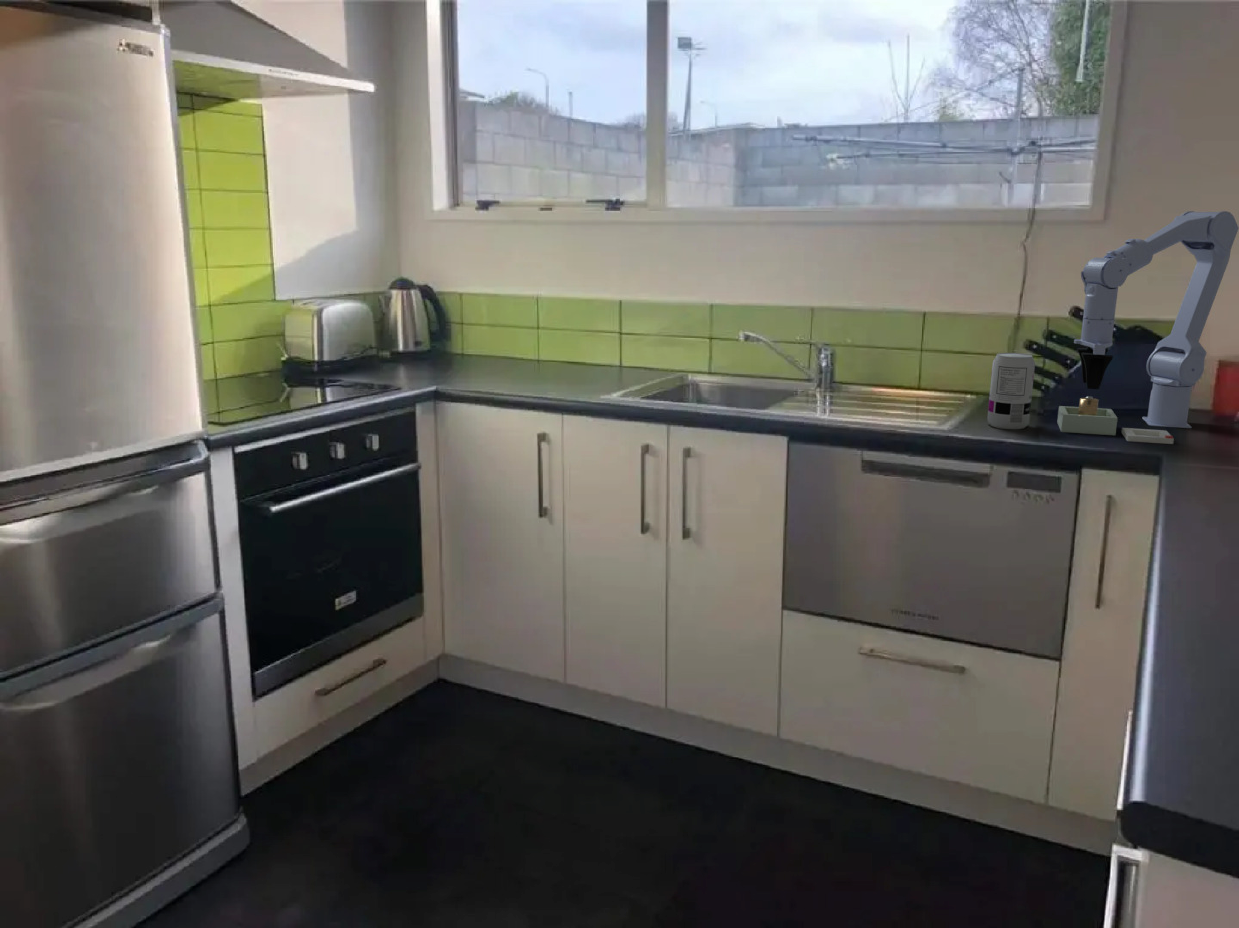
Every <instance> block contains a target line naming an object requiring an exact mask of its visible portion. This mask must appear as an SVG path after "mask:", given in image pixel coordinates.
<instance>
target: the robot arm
mask: <svg viewBox="0 0 1239 928" xmlns="http://www.w3.org/2000/svg"><path fill="white" fill-rule="evenodd" d="M1238 232H1239V226H1238V223H1237V220H1236V219H1235V216H1234V215H1233V214H1232V213H1231V212H1230V211H1226V210H1224V211H1223V210H1222V211H1194V210H1189V211H1188V210H1187V211H1185V212H1183V213H1182V214H1180V215H1177V216H1175V217H1174V219H1173V221H1171V222H1170V223H1168V224H1167V225H1166V226H1164V227H1163V228H1161V229H1159V230H1157V231H1155V233H1153V234H1152V235H1150V236H1148V237H1147V238H1145V239H1144V240H1143V239H1141V238H1128V239H1126V240H1125V241H1124V243H1125V244H1124V245H1122V246H1119V247H1118V248H1116V249H1114V250H1109V251H1107V252H1106V254H1105V255H1104V256H1103V257H1093V258H1091V259H1090V260H1089V261H1088V262H1087V263H1086V264H1085V265H1084V267H1083V270H1082V271H1080V278H1081V281H1082V282H1083V285H1084V286H1083V288H1084V289H1083V292H1084V294H1085V296H1084V297H1085V298H1084V307H1083V315H1082V316H1083V317H1082V325H1081V334H1080V339H1074V340H1073V343H1074V344H1076V345H1080V346H1084V347H1082V348H1081V347H1079V348H1076V350H1077V352H1078V356H1079V359H1080V363H1081V364H1080V365H1081V375H1082V381H1083V384H1086V388H1087V389H1089V390H1099V389H1100V388H1101V384H1102V382H1103V378H1104V375H1105V373H1106V370H1107V368H1108V367H1109V365H1110V363H1111V362H1112V360H1113V358H1114V356H1113V355H1112V354H1107V353H1108V351H1109V349H1108V348H1110V347H1112V346H1113V344H1114V343H1113V333H1114V326H1115V324H1114V323H1115V319H1116V318H1115V316H1116V309H1117V300H1118V294H1119V293H1118V292H1119V287H1122V285H1124V283H1125V282H1126V280H1127V278H1128V277H1129V276H1131V274H1133V273H1135V272H1138V270H1140V269H1142V268H1144V267H1146V266H1148V265H1149V264H1150V263H1152V261H1153V257H1154V255H1156V254H1158V253H1159V252H1162V251H1164V250H1166V249H1167V248H1170V247H1173V246H1174V245H1176V244H1178V243H1181V244H1182V245H1183V246H1184V247H1185V248H1186V249H1187V251H1188V252H1189V253H1190V254H1192V255H1193V256H1194V259H1195V260H1196V264H1195V267H1194V269H1193V271H1192V274H1191V277H1190V280H1189V283H1188V286H1187V288H1186V291H1185V293H1184V296H1183V299H1182V301H1181V305H1180V307H1179V310H1178V313H1177V315H1176V317H1175V321H1174V324H1173V327H1172V328H1171V331H1170V334H1168V335H1167V336H1166V337H1164V338H1162V339H1161V340H1159V341H1158V342H1157V344H1156V346H1155V349H1154V350H1153V351H1152V353H1151V354H1150V355H1149V357H1148V359H1147V361H1146V366H1145V367H1146V368H1145V369H1146V372H1147V374H1148V375H1149V377H1150V382H1152V389H1151V391H1150V396H1149V403H1148V410H1147V411H1148V412H1147V416H1142V420H1143V421H1145V423H1146V424H1147V425H1148V426H1150V427H1168V428H1182V429H1192V426H1191V425H1190V424H1189V423H1188V417H1189V409H1190V402H1191V397H1192V395H1191V394H1192V388H1193V387H1194V386H1196V383H1197V382H1198V381H1199V380H1200V379H1201V377H1202V375H1203V374H1204V370H1205V369H1204V368H1205V358H1206V356H1207V351H1206V350H1205V348H1204V347H1203V346H1202V344H1201V342H1200V339H1201V336H1202V334H1203V331H1204V329H1205V327H1206V326H1205V325H1206V322H1208V321H1207V320H1208V317H1209V315H1210V312H1211V310H1212V307H1213V304H1214V302H1215V299H1216V296H1217V294H1218V291H1219V289H1220V286H1221V282H1222V281H1223V278H1224V276H1225V275H1224V274H1225V272H1226V270H1227V267H1228V264H1229V261H1230V257H1231V250H1232V248H1233V244H1234V243H1235V239H1236V237H1237V234H1238Z"/></svg>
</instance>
